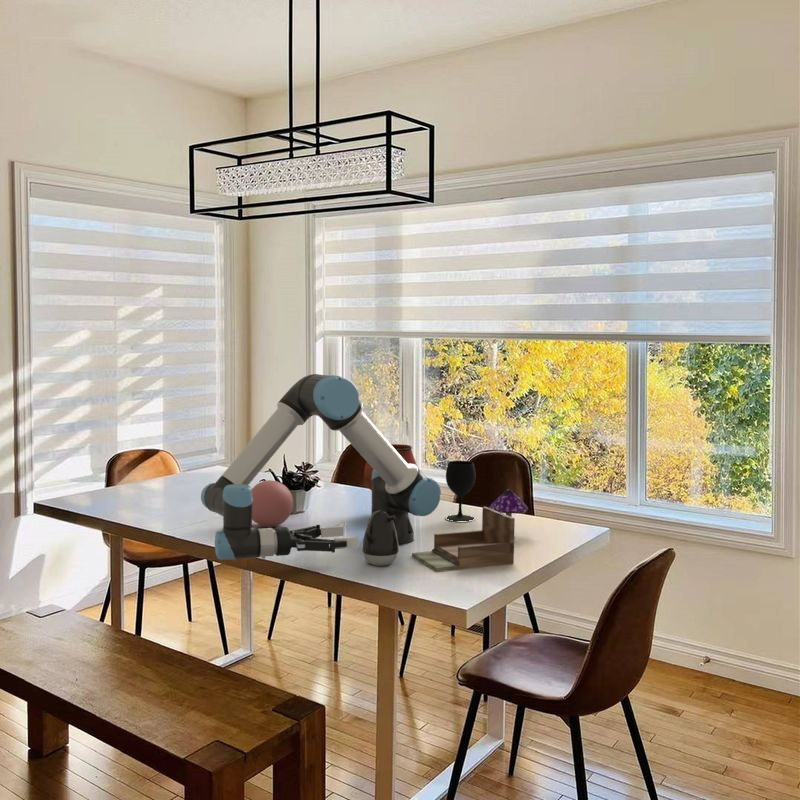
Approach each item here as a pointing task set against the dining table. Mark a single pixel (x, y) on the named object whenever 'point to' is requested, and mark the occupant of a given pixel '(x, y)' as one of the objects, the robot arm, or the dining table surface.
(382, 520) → the dark grey figurine
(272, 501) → the pink round body
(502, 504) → the decorative mushroom
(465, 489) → the wine glass
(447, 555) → the brown wooden tray
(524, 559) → the dining table surface
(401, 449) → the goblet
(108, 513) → the dining table surface
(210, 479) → the dining table surface
